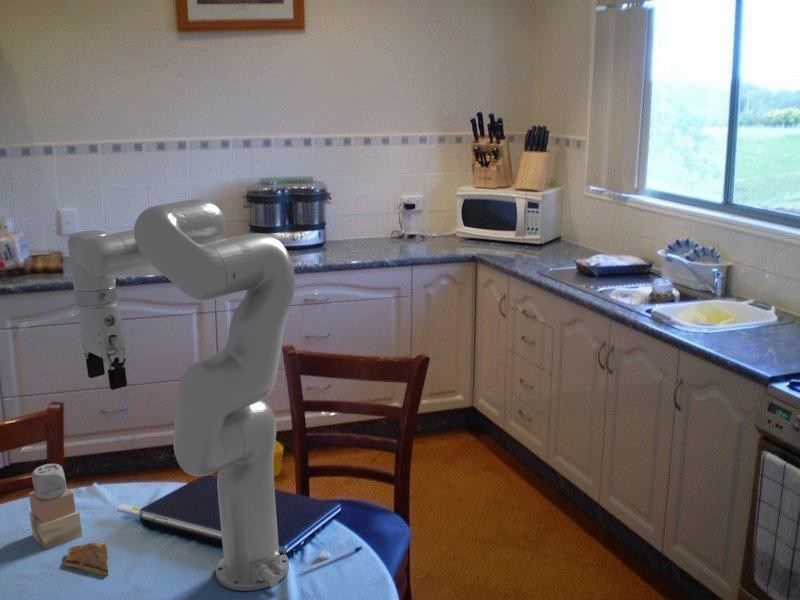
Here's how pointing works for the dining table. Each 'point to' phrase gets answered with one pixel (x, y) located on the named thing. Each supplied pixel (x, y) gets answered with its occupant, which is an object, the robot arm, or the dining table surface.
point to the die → (49, 481)
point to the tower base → (56, 529)
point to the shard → (88, 558)
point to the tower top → (52, 506)
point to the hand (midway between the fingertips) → (107, 381)
